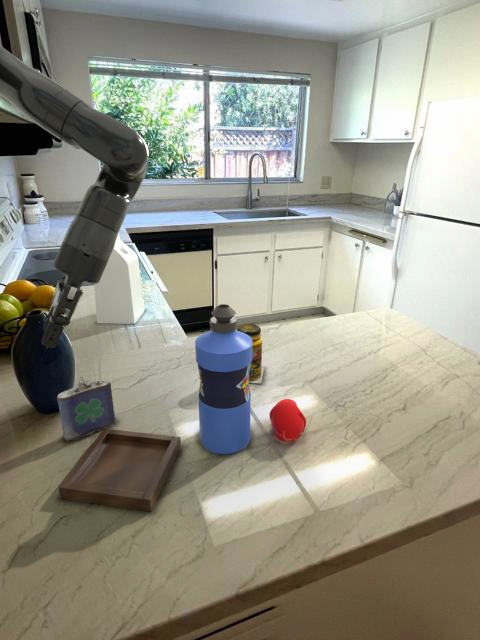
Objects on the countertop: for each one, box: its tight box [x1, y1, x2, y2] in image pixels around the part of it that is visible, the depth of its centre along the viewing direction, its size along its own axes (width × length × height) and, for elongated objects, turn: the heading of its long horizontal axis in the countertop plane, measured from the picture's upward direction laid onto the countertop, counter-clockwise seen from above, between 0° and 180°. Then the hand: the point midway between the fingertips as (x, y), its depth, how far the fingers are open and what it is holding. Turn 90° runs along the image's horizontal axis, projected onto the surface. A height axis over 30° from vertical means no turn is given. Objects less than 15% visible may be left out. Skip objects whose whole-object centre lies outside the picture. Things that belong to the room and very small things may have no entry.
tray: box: [58, 428, 182, 513], centre depth 64 cm, size 14×14×2 cm
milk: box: [93, 233, 146, 325], centre depth 123 cm, size 12×12×26 cm
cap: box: [269, 398, 307, 443], centre depth 72 cm, size 8×6×6 cm
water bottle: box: [194, 303, 252, 455], centre depth 68 cm, size 9×9×25 cm
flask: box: [56, 375, 116, 442], centre depth 72 cm, size 9×3×11 cm, turn 127°
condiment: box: [236, 323, 265, 384], centre depth 91 cm, size 7×8×12 cm
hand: (48, 339), depth 67 cm, fingers open, 8 cm apart
